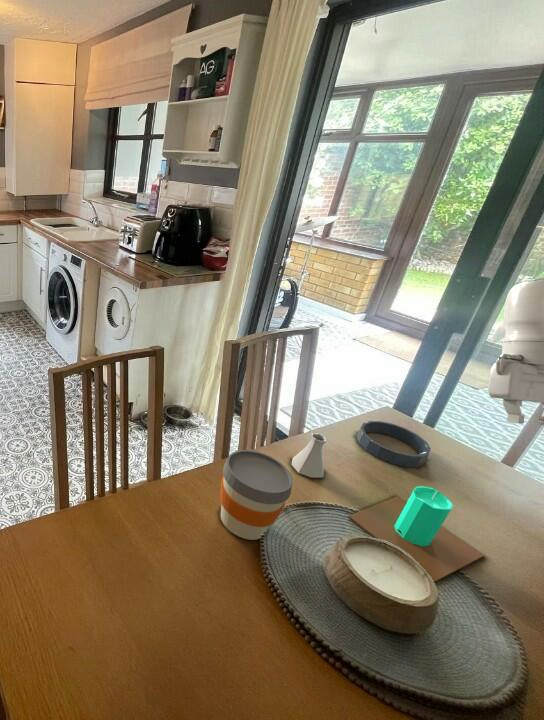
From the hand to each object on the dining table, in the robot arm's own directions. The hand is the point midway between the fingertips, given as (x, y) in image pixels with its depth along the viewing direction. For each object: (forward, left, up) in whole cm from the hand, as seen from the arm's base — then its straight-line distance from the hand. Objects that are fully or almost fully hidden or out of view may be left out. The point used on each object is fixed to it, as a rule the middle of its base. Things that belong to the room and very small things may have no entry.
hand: (531, 424), depth 84 cm
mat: (0, +24, -23) cm, 33 cm away
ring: (+20, -1, -23) cm, 30 cm away
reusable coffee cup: (+15, +55, -23) cm, 61 cm away
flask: (+22, +27, -23) cm, 42 cm away
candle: (0, +24, -22) cm, 33 cm away
